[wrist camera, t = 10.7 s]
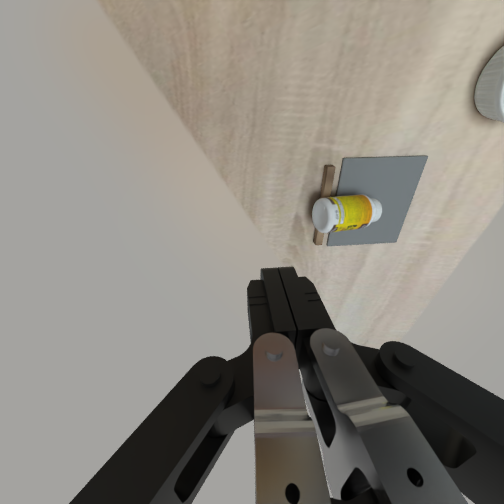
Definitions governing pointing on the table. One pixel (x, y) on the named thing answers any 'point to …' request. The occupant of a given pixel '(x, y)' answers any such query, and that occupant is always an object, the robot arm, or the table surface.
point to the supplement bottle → (345, 213)
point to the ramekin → (491, 88)
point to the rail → (325, 196)
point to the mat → (379, 195)
